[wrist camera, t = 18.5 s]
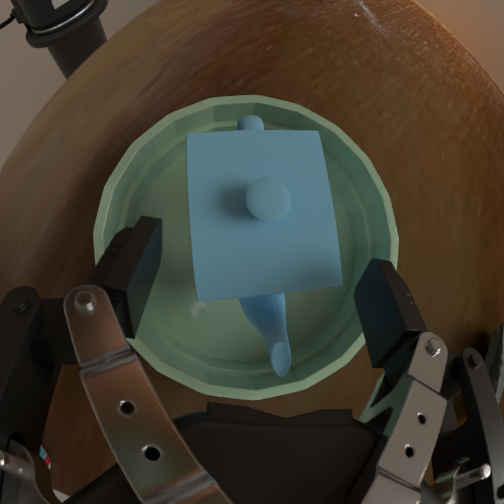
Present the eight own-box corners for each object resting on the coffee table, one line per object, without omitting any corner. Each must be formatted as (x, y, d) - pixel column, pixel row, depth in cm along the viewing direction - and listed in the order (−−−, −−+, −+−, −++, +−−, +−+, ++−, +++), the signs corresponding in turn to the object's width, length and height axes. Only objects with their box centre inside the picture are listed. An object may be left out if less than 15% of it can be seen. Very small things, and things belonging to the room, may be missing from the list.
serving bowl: (104, 347, 17) (76, 364, 12) (154, 116, 19) (142, 80, 14) (341, 381, 19) (372, 402, 14) (367, 161, 21) (399, 137, 16)
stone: (503, 314, 23) (478, 323, 19) (531, 317, 19) (515, 329, 15) (482, 399, 23) (448, 430, 18) (507, 407, 19) (480, 442, 15)
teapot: (304, 336, 18) (360, 367, 10) (208, 349, 17) (206, 394, 10) (283, 155, 19) (320, 91, 12) (192, 160, 18) (183, 91, 11)
